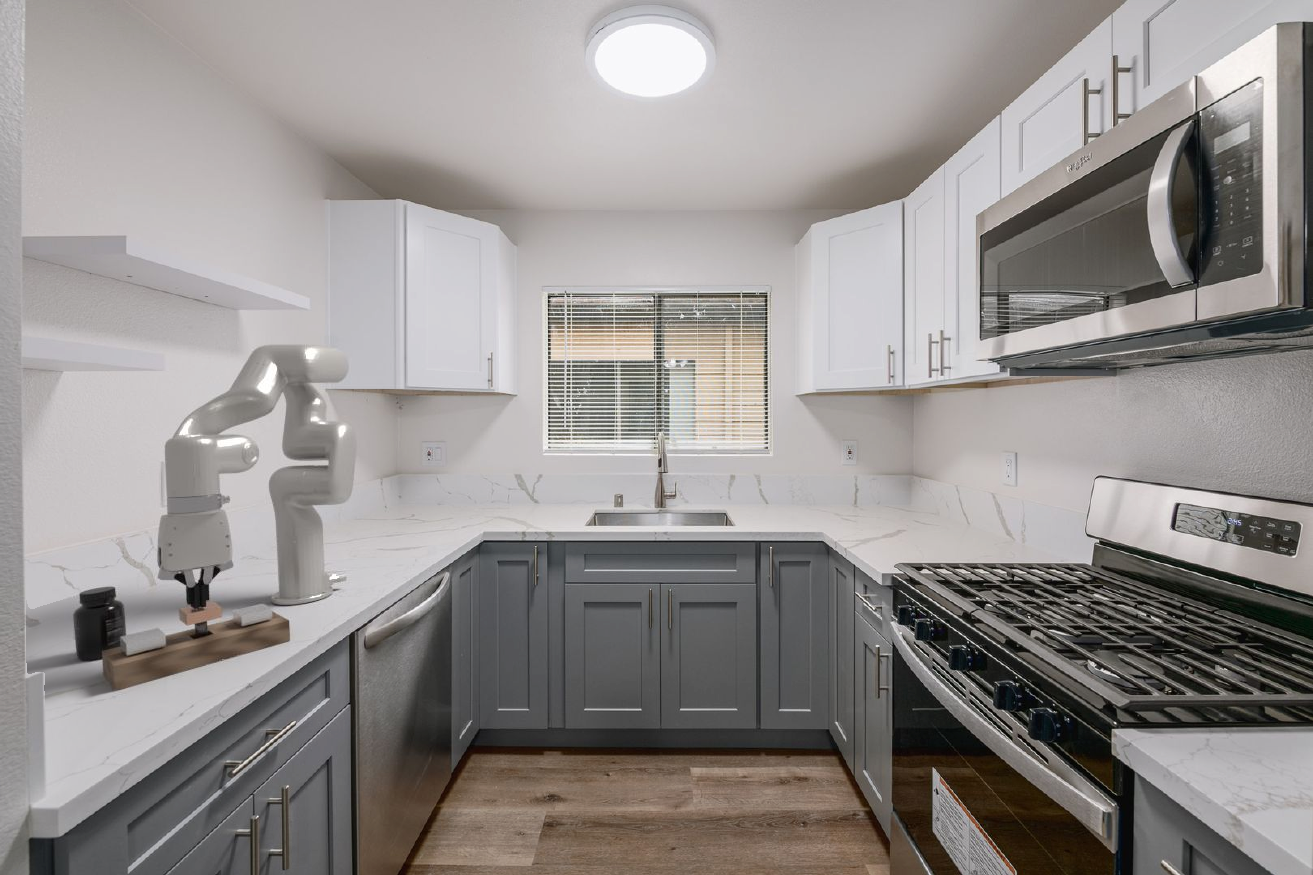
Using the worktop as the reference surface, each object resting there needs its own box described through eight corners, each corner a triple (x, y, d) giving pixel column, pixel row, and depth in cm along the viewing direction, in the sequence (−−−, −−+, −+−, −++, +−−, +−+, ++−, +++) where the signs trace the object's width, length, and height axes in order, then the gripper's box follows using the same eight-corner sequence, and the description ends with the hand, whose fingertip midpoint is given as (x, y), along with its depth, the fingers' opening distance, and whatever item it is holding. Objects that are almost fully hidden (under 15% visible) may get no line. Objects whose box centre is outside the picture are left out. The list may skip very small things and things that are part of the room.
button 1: (159, 661, 102) (158, 627, 102) (167, 668, 99) (165, 634, 99) (121, 671, 98) (119, 636, 98) (128, 679, 95) (126, 643, 95)
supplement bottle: (123, 643, 112) (120, 582, 111) (130, 652, 108) (126, 588, 107) (73, 655, 107) (69, 591, 106) (78, 665, 102) (74, 598, 102)
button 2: (264, 633, 115) (262, 603, 115) (273, 638, 112) (272, 608, 111) (234, 641, 111) (232, 610, 111) (242, 647, 108) (241, 615, 108)
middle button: (214, 632, 108) (212, 601, 108) (222, 638, 105) (221, 606, 105) (180, 641, 105) (178, 608, 104) (188, 647, 101) (186, 614, 101)
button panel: (271, 629, 118) (270, 610, 118) (290, 640, 112) (289, 620, 112) (103, 674, 98) (101, 650, 98) (115, 690, 92) (113, 666, 92)
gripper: (236, 499, 112) (240, 593, 112) (134, 509, 100) (138, 613, 101) (250, 501, 107) (254, 599, 108) (144, 512, 96) (149, 622, 96)
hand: (198, 606), depth 104 cm, fingers closed
